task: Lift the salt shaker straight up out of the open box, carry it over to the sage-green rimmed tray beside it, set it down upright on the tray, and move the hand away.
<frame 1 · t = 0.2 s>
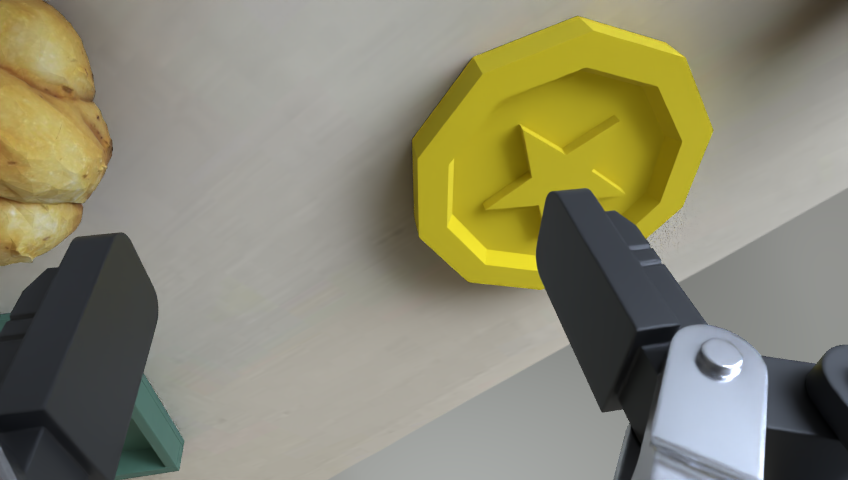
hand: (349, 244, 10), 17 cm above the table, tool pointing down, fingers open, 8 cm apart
bread roll: (15, 106, 25), on the table
tray: (50, 395, 38), on the table
decorative disc: (549, 164, 32), on the table
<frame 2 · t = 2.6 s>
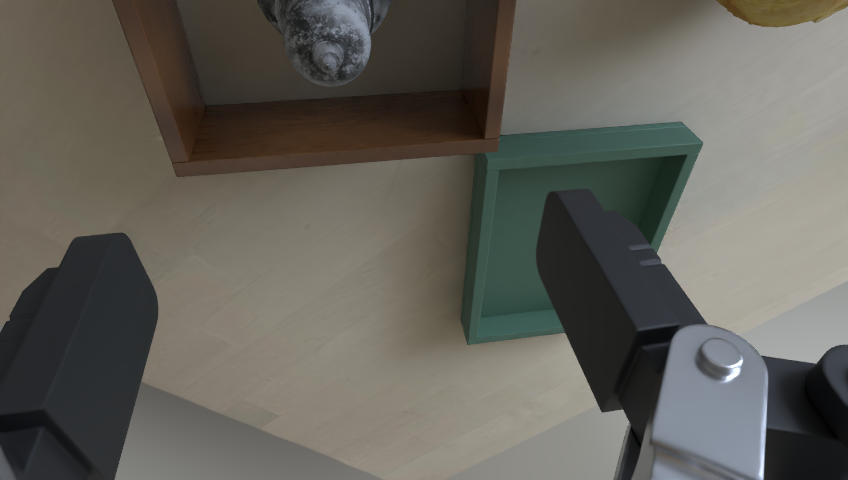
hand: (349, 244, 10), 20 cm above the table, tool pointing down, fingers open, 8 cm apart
tray: (557, 233, 39), on the table
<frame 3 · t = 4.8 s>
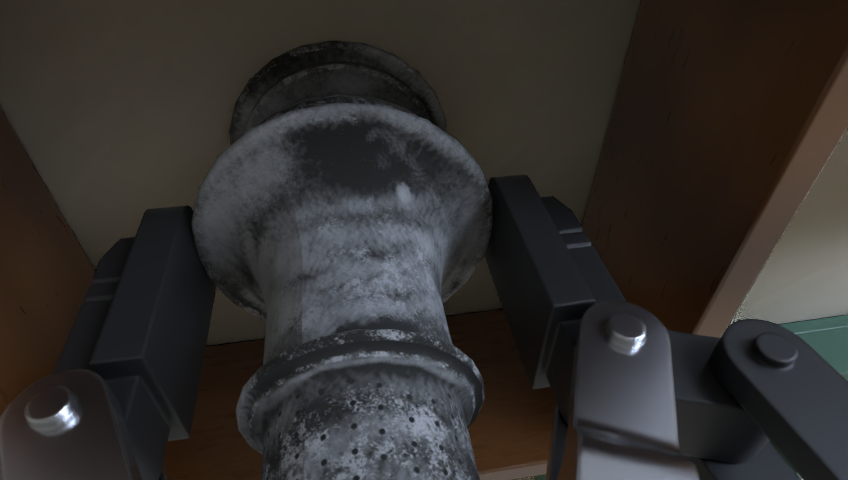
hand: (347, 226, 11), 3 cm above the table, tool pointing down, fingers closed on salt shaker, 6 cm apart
salt shaker: (341, 142, 13), resting in open box, touching gripper
tray: (666, 436, 28), on the table
open box: (342, 146, 13), on the table
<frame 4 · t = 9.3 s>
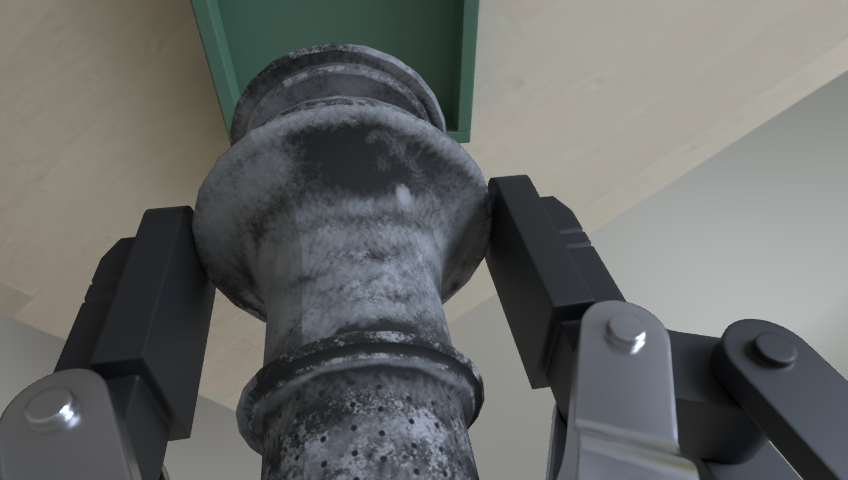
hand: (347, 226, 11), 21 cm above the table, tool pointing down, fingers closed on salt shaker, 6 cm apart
salt shaker: (341, 144, 13), point 17 cm above the table, touching gripper
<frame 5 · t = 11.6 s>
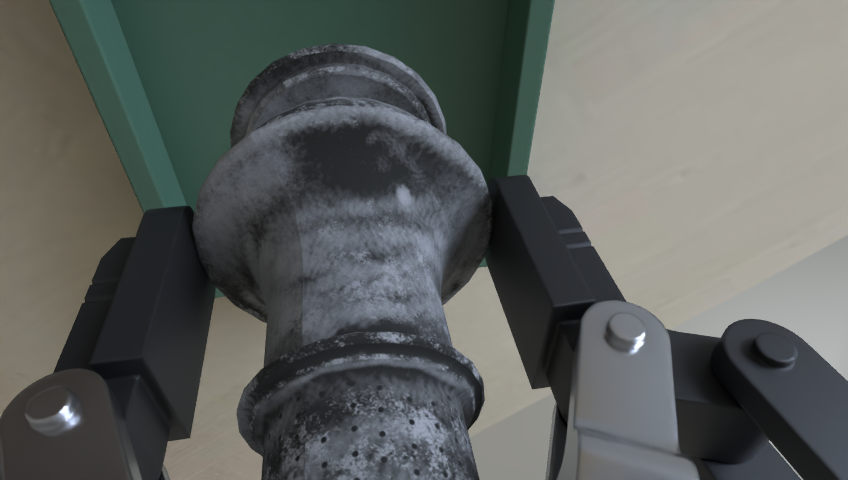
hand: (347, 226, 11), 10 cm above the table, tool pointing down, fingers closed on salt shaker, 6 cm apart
salt shaker: (342, 144, 13), point 6 cm above the table, touching gripper
tray: (327, 47, 18), on the table
when the fingers open (4 cm above the table, at t = 13.6 s): salt shaker stays where it is, resting on tray.
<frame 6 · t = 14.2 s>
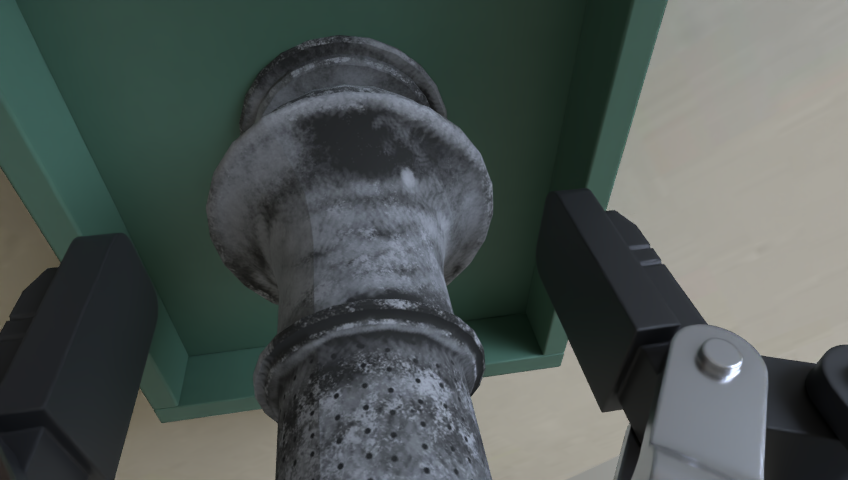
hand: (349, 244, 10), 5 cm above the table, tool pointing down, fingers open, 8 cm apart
salt shaker: (346, 133, 14), resting on tray
tray: (340, 126, 14), on the table
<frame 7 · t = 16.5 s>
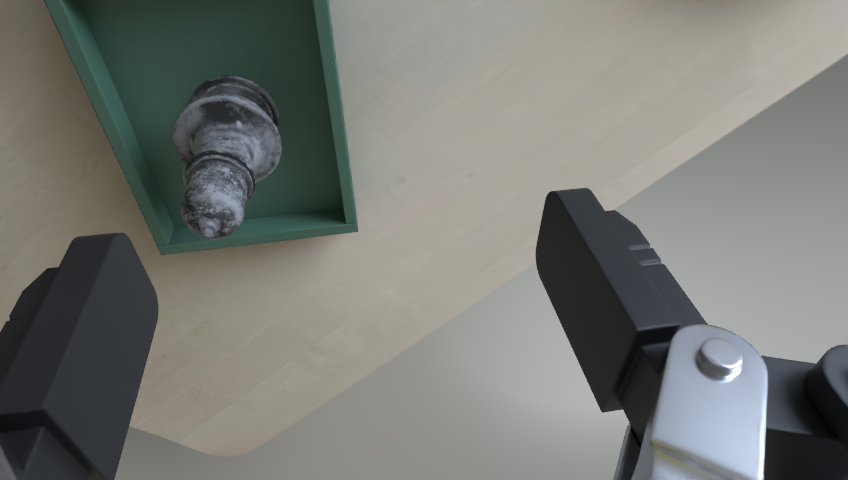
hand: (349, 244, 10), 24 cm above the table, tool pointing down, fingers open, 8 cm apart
salt shaker: (235, 114, 33), resting on tray
tray: (233, 111, 33), on the table
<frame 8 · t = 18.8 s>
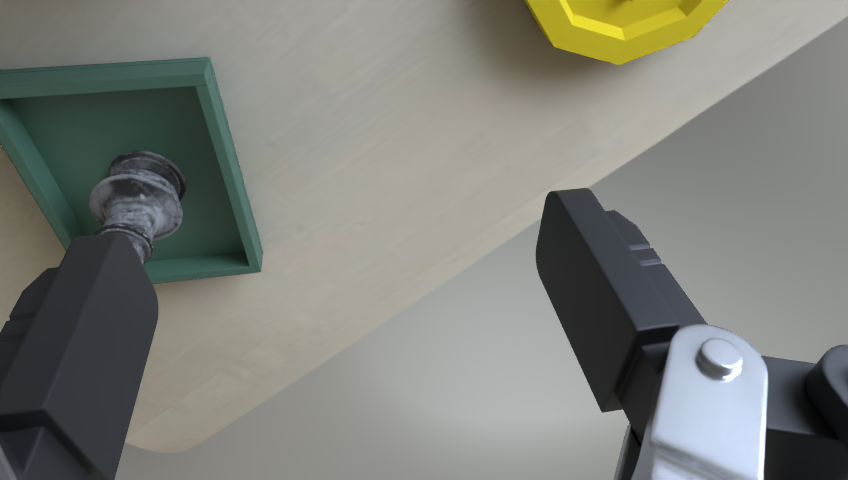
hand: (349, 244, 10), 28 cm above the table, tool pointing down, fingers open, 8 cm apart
salt shaker: (148, 179, 40), resting on tray
tray: (147, 176, 40), on the table
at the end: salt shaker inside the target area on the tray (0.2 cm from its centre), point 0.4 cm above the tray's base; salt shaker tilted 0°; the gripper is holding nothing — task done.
